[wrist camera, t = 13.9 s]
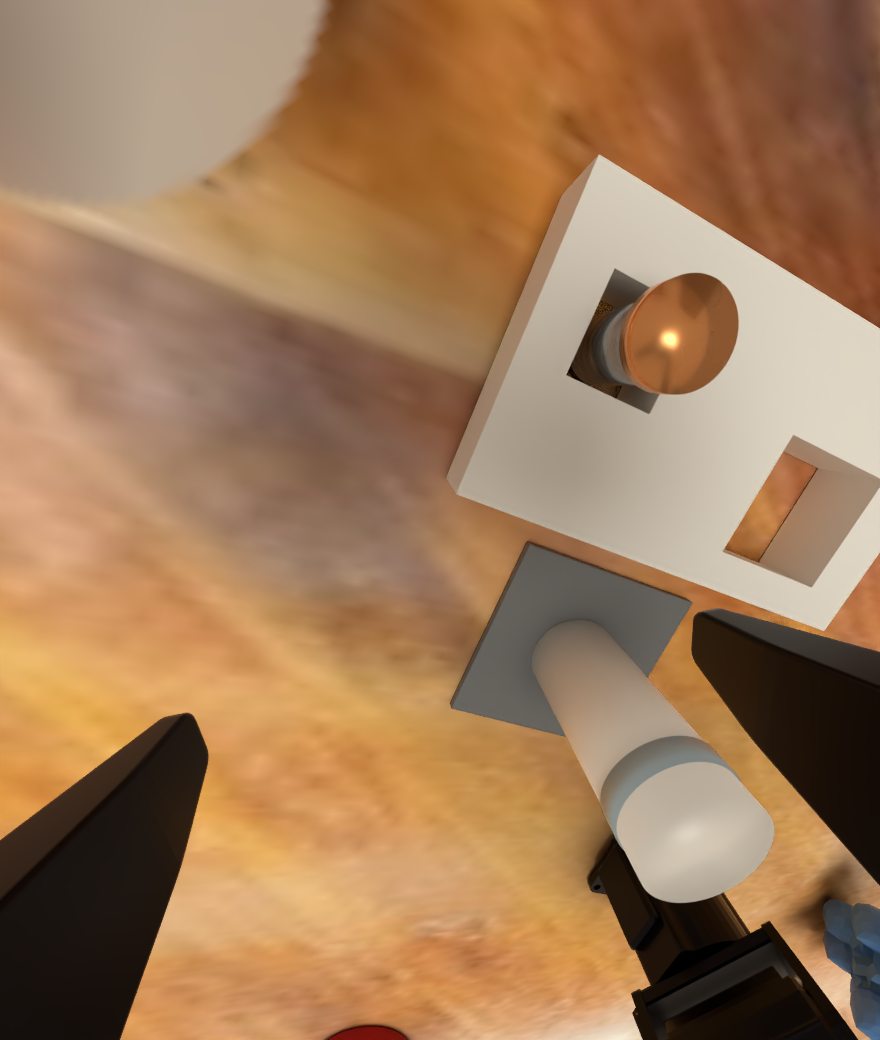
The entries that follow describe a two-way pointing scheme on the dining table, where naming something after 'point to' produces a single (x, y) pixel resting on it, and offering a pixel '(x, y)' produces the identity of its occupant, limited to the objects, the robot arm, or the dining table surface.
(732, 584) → the housing
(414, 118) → the dining table surface
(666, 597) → the mat
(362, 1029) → the canned food
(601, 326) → the copper capped cylinder
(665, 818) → the cylinder
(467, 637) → the dining table surface
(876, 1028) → the blue flower shape
